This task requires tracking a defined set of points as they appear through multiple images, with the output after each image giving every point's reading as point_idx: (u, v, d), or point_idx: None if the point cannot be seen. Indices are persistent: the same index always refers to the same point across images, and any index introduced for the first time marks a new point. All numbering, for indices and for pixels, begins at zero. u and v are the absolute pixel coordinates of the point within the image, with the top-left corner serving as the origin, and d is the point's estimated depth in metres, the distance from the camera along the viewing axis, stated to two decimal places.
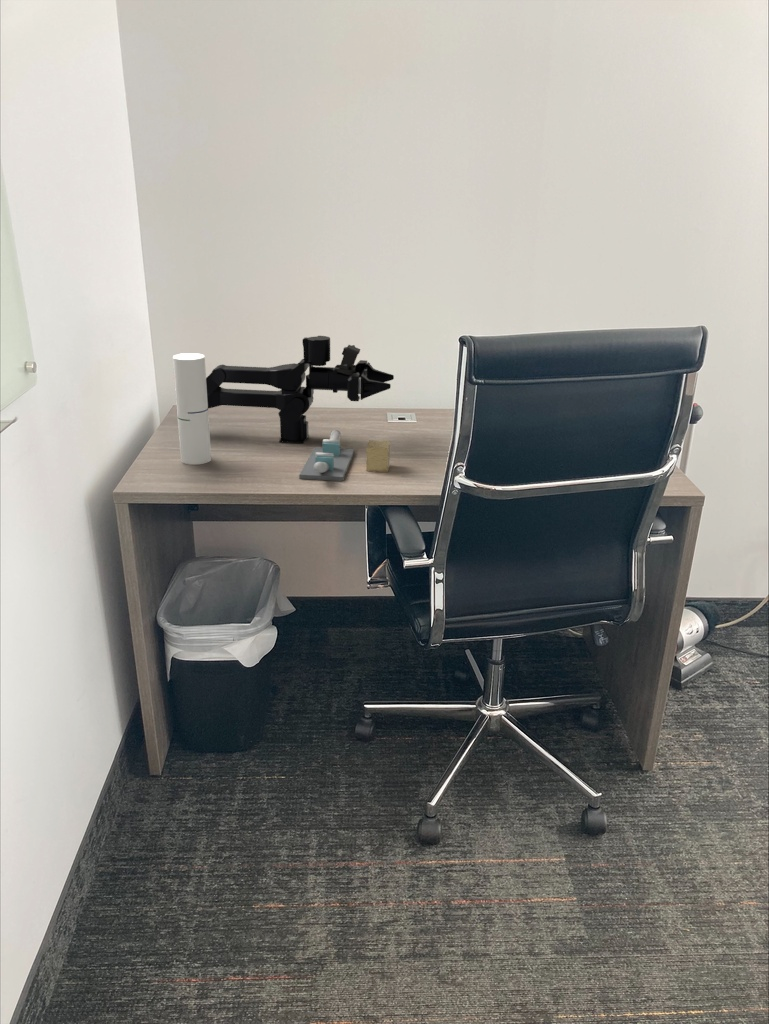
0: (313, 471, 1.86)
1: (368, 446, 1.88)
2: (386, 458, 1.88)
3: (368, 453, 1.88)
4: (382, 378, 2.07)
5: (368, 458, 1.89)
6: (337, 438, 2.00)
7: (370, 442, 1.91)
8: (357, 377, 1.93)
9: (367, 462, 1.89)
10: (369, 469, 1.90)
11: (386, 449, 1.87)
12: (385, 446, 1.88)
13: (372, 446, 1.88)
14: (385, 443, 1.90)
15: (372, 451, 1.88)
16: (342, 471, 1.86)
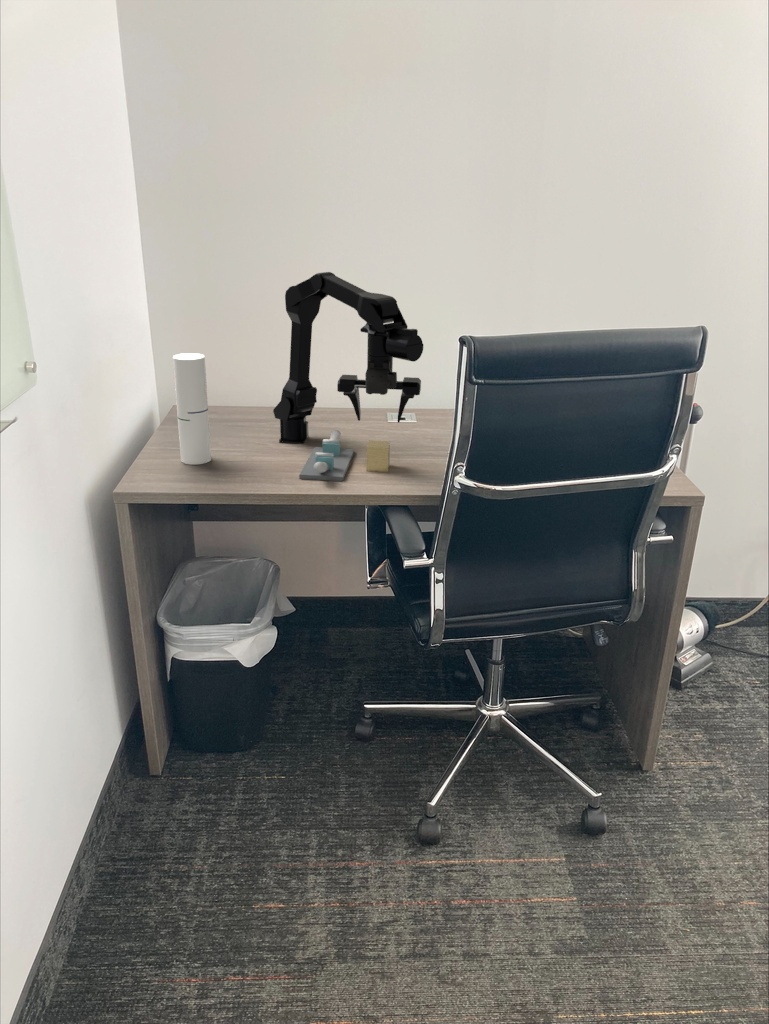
0: (313, 471, 1.86)
1: (368, 446, 1.88)
2: (386, 458, 1.88)
3: (368, 453, 1.88)
4: None
5: (368, 458, 1.89)
6: (337, 438, 2.00)
7: (370, 442, 1.91)
8: (338, 390, 1.83)
9: (367, 462, 1.89)
10: (369, 469, 1.90)
11: (386, 449, 1.87)
12: (385, 446, 1.88)
13: (372, 446, 1.88)
14: (385, 443, 1.90)
15: (372, 451, 1.88)
16: (342, 471, 1.86)
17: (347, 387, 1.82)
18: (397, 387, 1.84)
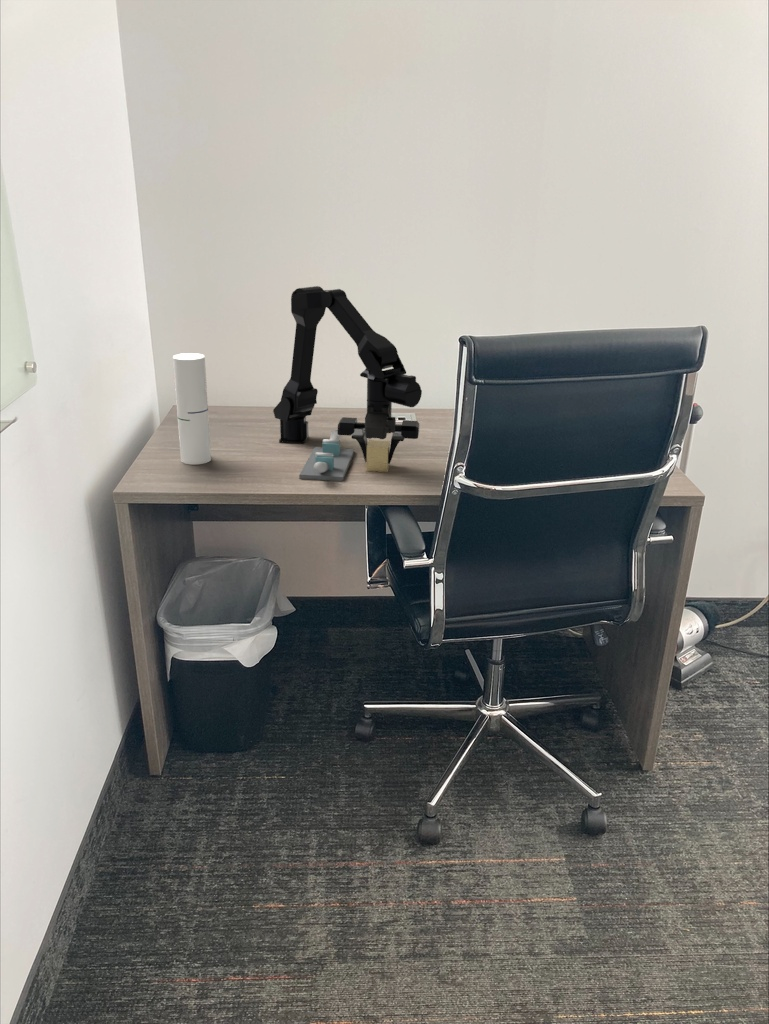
0: (313, 471, 1.86)
1: (368, 446, 1.88)
2: (386, 458, 1.88)
3: (368, 453, 1.88)
4: None
5: (368, 458, 1.89)
6: (337, 438, 2.00)
7: (370, 442, 1.91)
8: (338, 433, 1.87)
9: (367, 462, 1.89)
10: (369, 469, 1.90)
11: (386, 449, 1.87)
12: (385, 446, 1.88)
13: (372, 446, 1.88)
14: (385, 443, 1.90)
15: (372, 450, 1.88)
16: (342, 471, 1.86)
17: (347, 430, 1.86)
18: (396, 430, 1.88)
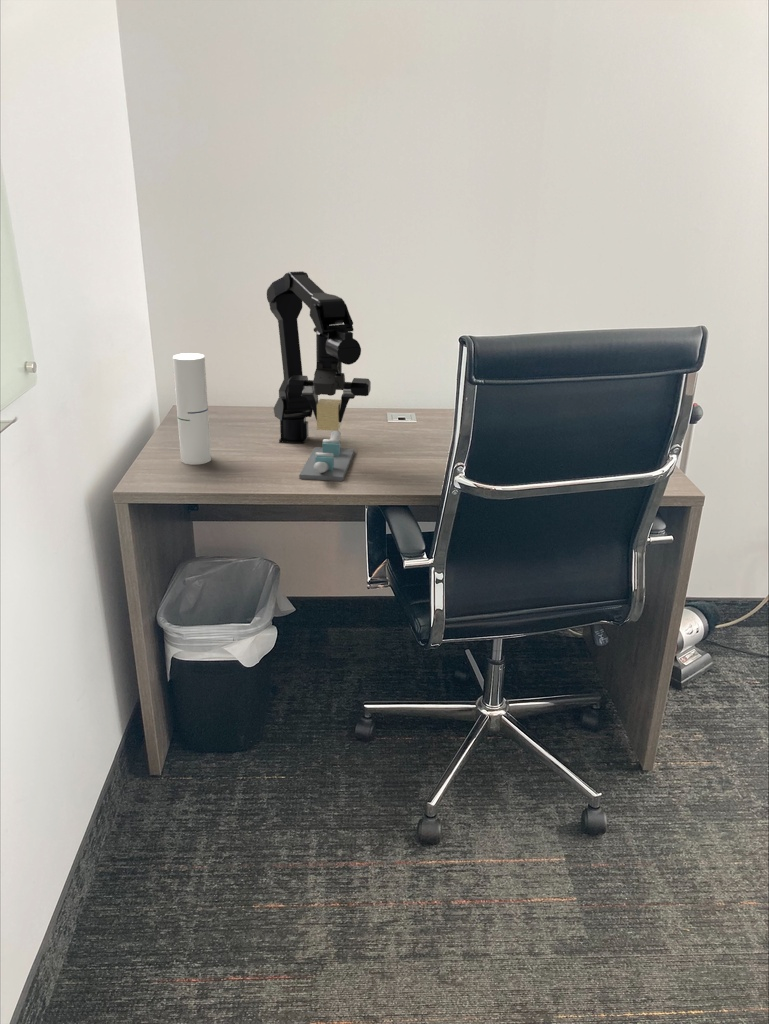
0: (313, 471, 1.86)
1: (318, 404, 1.85)
2: (337, 416, 1.86)
3: (318, 411, 1.85)
4: None
5: (318, 416, 1.86)
6: (337, 438, 2.00)
7: (321, 400, 1.88)
8: (288, 391, 1.84)
9: (317, 420, 1.86)
10: (320, 427, 1.87)
11: (336, 407, 1.85)
12: (335, 404, 1.85)
13: (322, 404, 1.85)
14: (336, 401, 1.87)
15: (322, 408, 1.85)
16: (342, 471, 1.86)
17: (296, 388, 1.83)
18: (346, 388, 1.85)
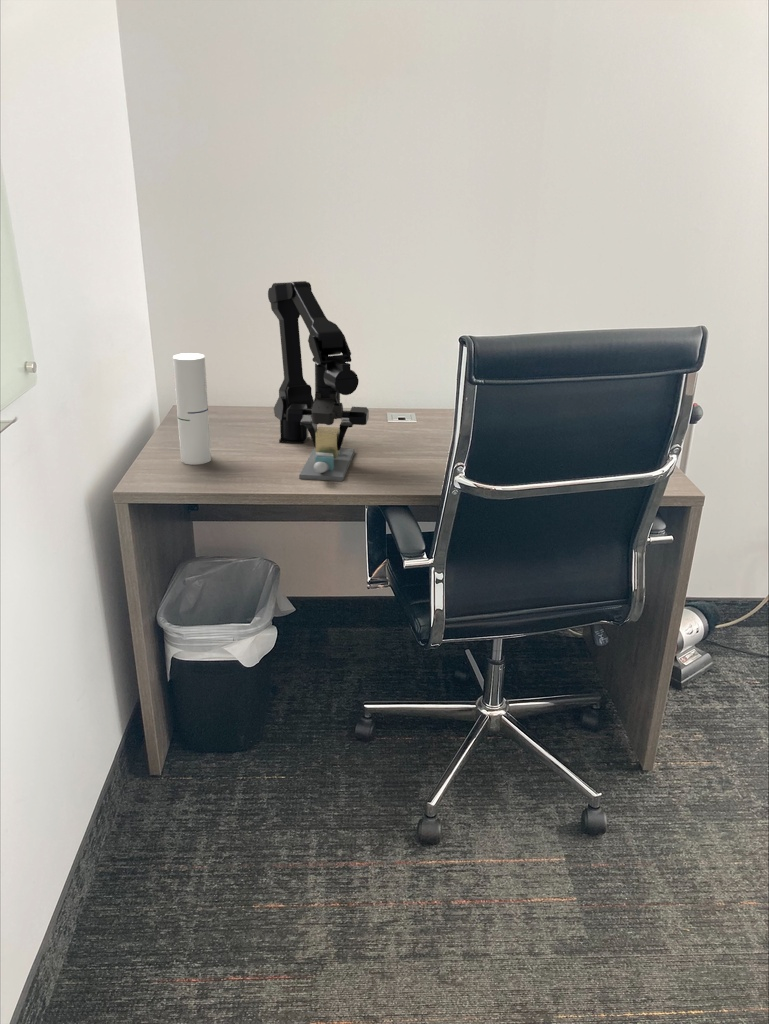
0: (313, 471, 1.86)
1: (317, 432, 1.88)
2: (335, 444, 1.88)
3: (317, 439, 1.88)
4: None
5: (317, 444, 1.89)
6: None
7: (320, 429, 1.90)
8: (287, 419, 1.87)
9: (316, 448, 1.89)
10: None
11: (335, 435, 1.87)
12: (334, 432, 1.88)
13: (320, 432, 1.88)
14: (335, 430, 1.90)
15: (321, 437, 1.88)
16: (342, 471, 1.86)
17: (295, 417, 1.86)
18: (345, 416, 1.88)
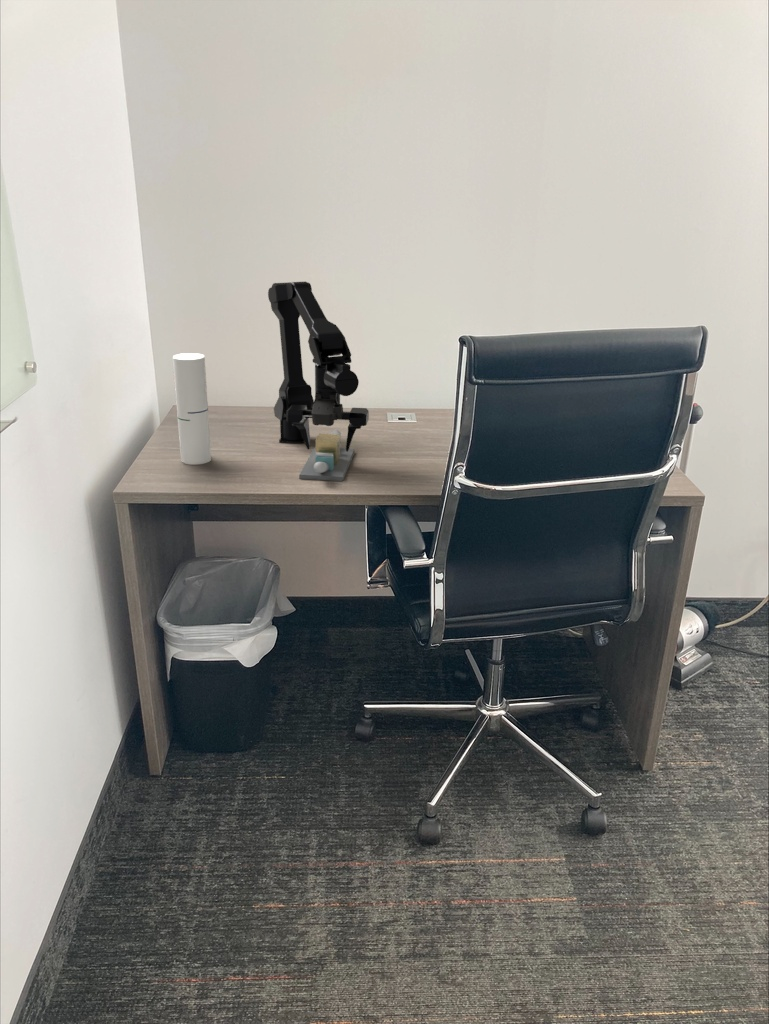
0: (313, 471, 1.86)
1: (317, 439, 1.89)
2: (335, 451, 1.89)
3: (317, 446, 1.89)
4: None
5: (317, 451, 1.89)
6: None
7: (320, 435, 1.91)
8: (287, 420, 1.87)
9: None
10: None
11: (335, 442, 1.88)
12: (334, 439, 1.89)
13: (321, 439, 1.89)
14: (335, 436, 1.91)
15: (321, 444, 1.88)
16: (342, 471, 1.86)
17: (295, 417, 1.86)
18: (345, 417, 1.88)
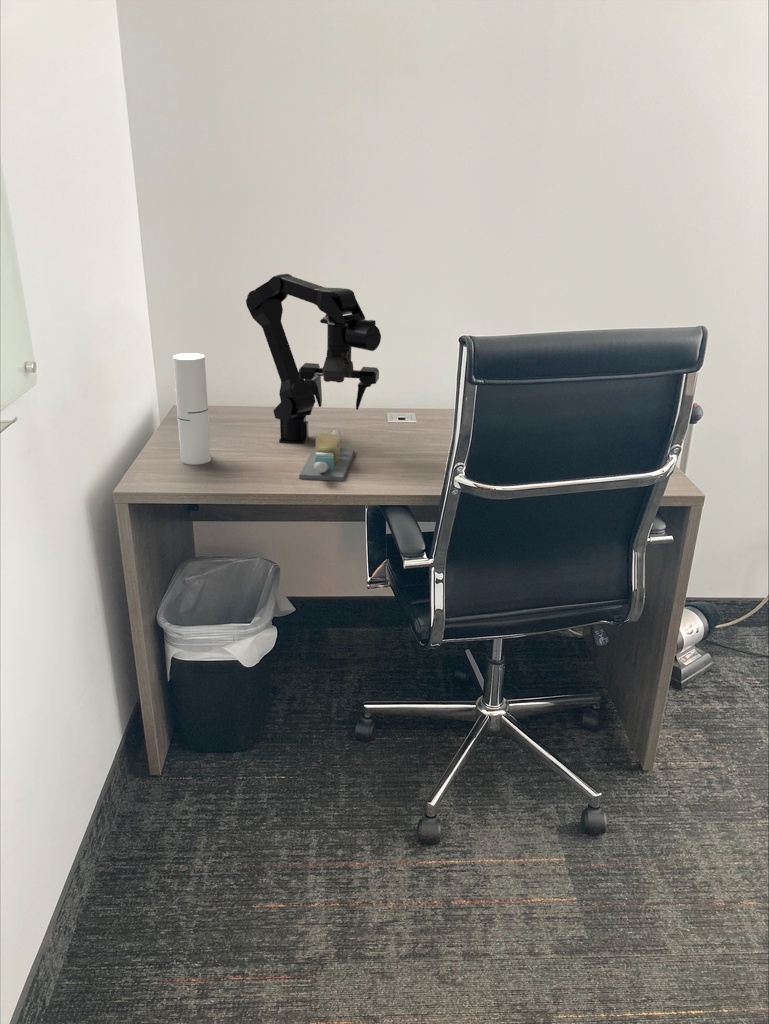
0: (313, 471, 1.86)
1: (317, 439, 1.89)
2: (335, 451, 1.89)
3: (317, 446, 1.89)
4: None
5: (317, 451, 1.89)
6: None
7: (320, 435, 1.91)
8: (299, 377, 1.93)
9: None
10: None
11: (335, 442, 1.88)
12: (334, 439, 1.89)
13: (321, 439, 1.89)
14: (335, 436, 1.91)
15: (321, 444, 1.88)
16: (342, 471, 1.86)
17: (307, 375, 1.92)
18: (355, 376, 1.93)
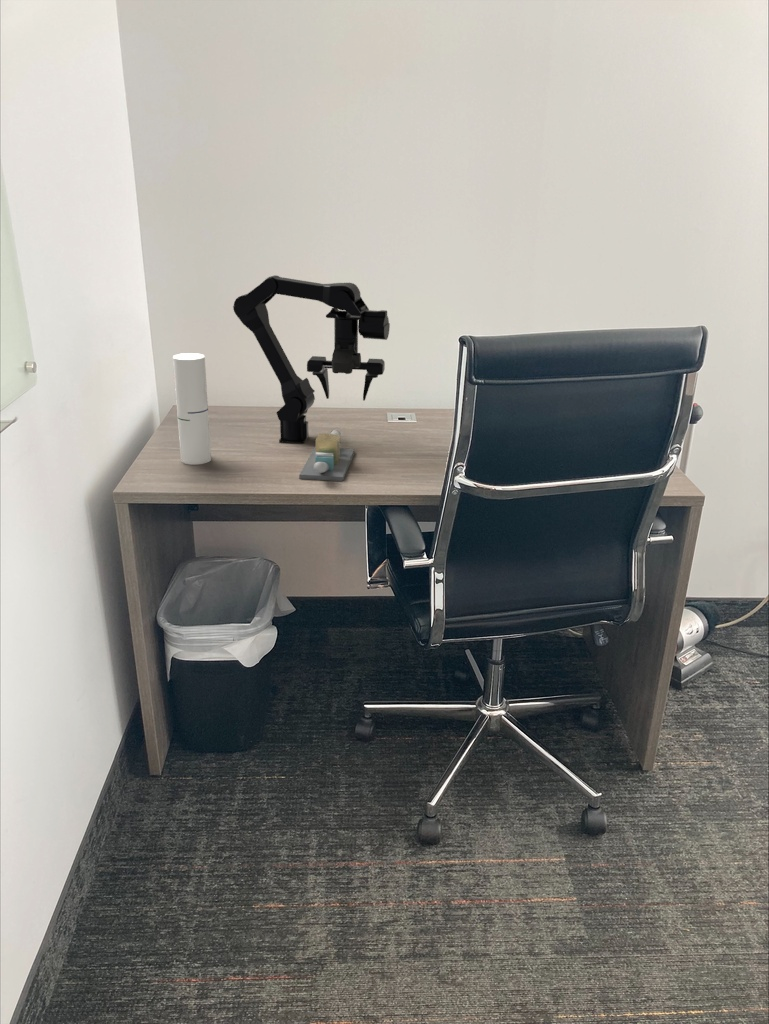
0: (313, 471, 1.86)
1: (317, 439, 1.89)
2: (335, 451, 1.89)
3: (317, 446, 1.89)
4: None
5: (317, 451, 1.89)
6: None
7: (320, 435, 1.91)
8: (308, 370, 1.98)
9: None
10: None
11: (335, 442, 1.88)
12: (334, 439, 1.89)
13: (321, 439, 1.89)
14: (335, 436, 1.91)
15: (321, 444, 1.88)
16: (342, 471, 1.86)
17: (316, 367, 1.97)
18: (362, 367, 1.99)
